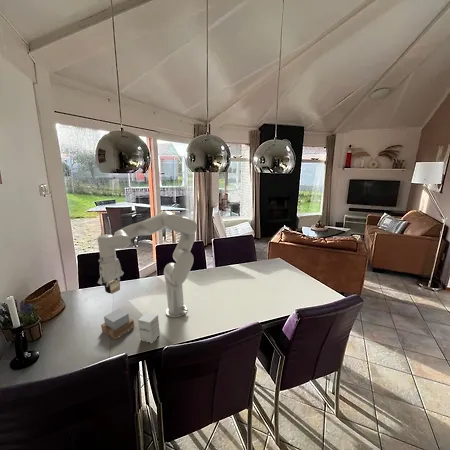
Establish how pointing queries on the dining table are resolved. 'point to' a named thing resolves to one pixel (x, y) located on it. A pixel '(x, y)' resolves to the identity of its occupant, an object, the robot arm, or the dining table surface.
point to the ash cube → (114, 286)
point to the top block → (116, 319)
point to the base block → (119, 331)
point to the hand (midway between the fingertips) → (113, 289)
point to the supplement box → (149, 327)
